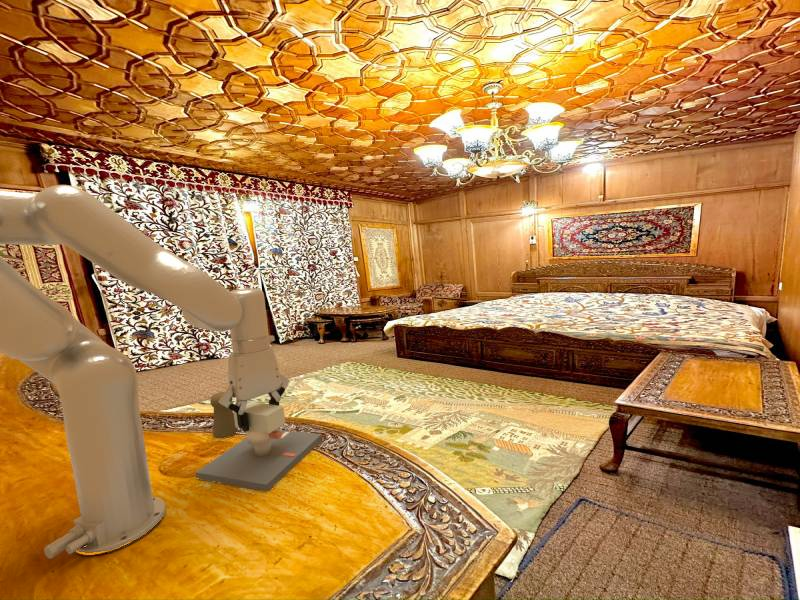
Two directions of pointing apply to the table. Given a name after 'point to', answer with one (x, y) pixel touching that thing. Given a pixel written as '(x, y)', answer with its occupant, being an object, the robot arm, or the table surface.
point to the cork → (222, 418)
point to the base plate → (260, 461)
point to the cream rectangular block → (263, 422)
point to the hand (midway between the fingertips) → (260, 422)
